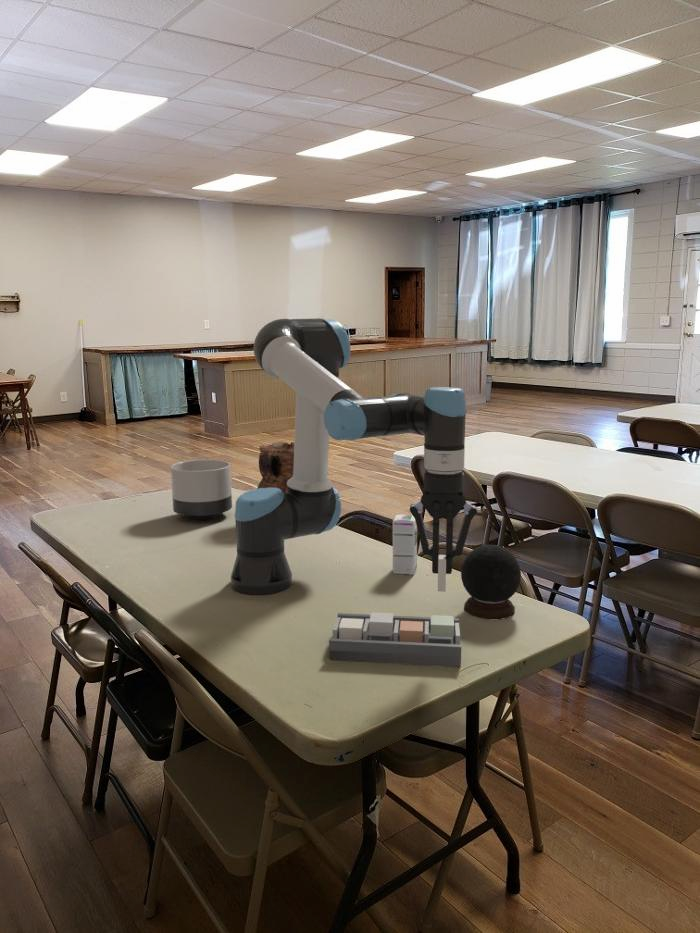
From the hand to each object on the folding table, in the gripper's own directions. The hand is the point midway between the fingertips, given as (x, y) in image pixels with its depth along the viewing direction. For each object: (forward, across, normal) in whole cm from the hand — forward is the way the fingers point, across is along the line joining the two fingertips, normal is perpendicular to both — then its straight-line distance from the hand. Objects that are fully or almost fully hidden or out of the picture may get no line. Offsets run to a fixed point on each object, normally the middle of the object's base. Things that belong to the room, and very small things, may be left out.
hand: (441, 588), depth 136 cm
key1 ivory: (+11, -18, 0) cm, 21 cm away
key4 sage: (+9, 0, 0) cm, 9 cm away
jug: (+12, -50, +90) cm, 103 cm away
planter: (+12, -78, +89) cm, 119 cm away
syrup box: (+13, -9, +44) cm, 47 cm away
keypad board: (+13, -9, 0) cm, 15 cm away
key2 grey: (+9, -12, 0) cm, 15 cm away
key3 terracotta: (+11, -6, 0) cm, 12 cm away
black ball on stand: (+13, +11, +22) cm, 27 cm away
